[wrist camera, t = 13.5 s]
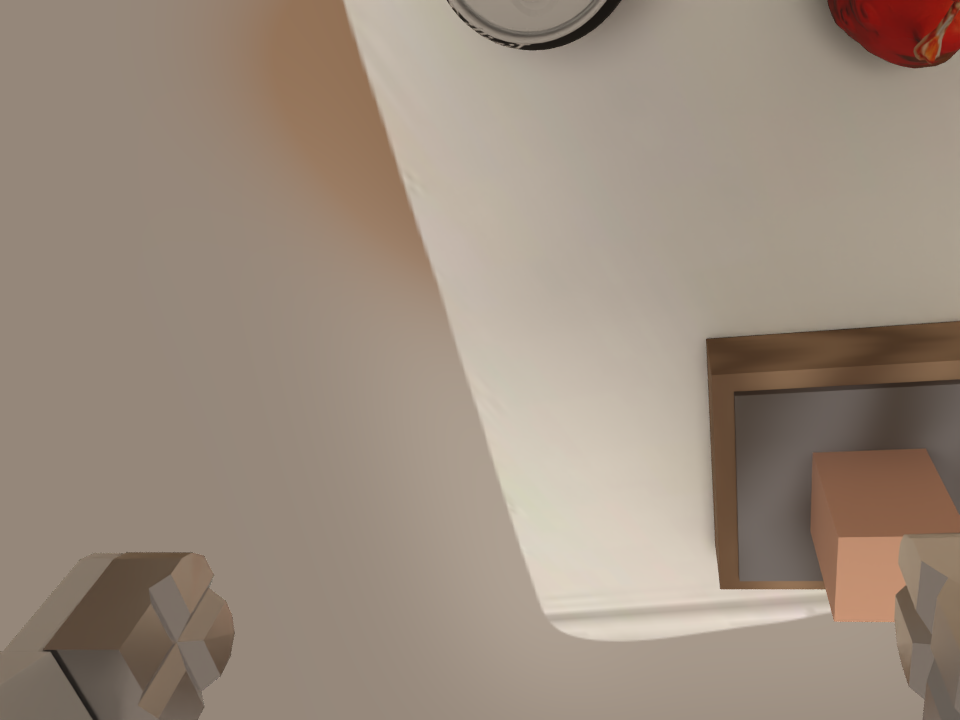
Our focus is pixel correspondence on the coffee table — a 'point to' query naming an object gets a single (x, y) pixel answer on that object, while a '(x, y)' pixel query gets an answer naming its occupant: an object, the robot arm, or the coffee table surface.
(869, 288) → the coffee table surface
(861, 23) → the red clay folk toy
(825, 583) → the terracotta block
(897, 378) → the walnut plinth
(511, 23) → the beverage can
